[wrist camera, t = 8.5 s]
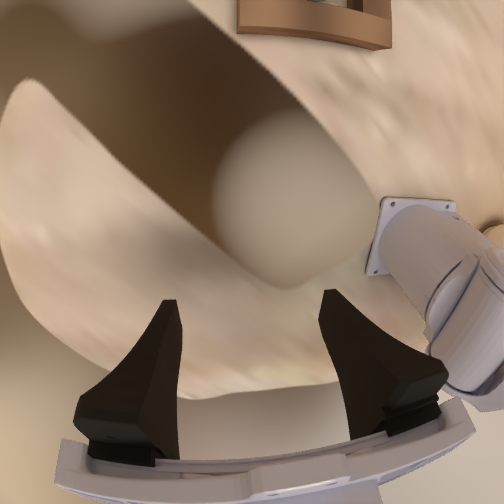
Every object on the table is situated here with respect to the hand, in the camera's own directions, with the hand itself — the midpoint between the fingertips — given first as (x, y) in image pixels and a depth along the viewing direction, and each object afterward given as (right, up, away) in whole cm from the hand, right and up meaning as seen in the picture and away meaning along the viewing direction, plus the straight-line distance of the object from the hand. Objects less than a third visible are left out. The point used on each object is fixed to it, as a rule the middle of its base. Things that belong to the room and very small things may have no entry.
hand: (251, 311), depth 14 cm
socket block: (+4, +22, -1) cm, 22 cm away
